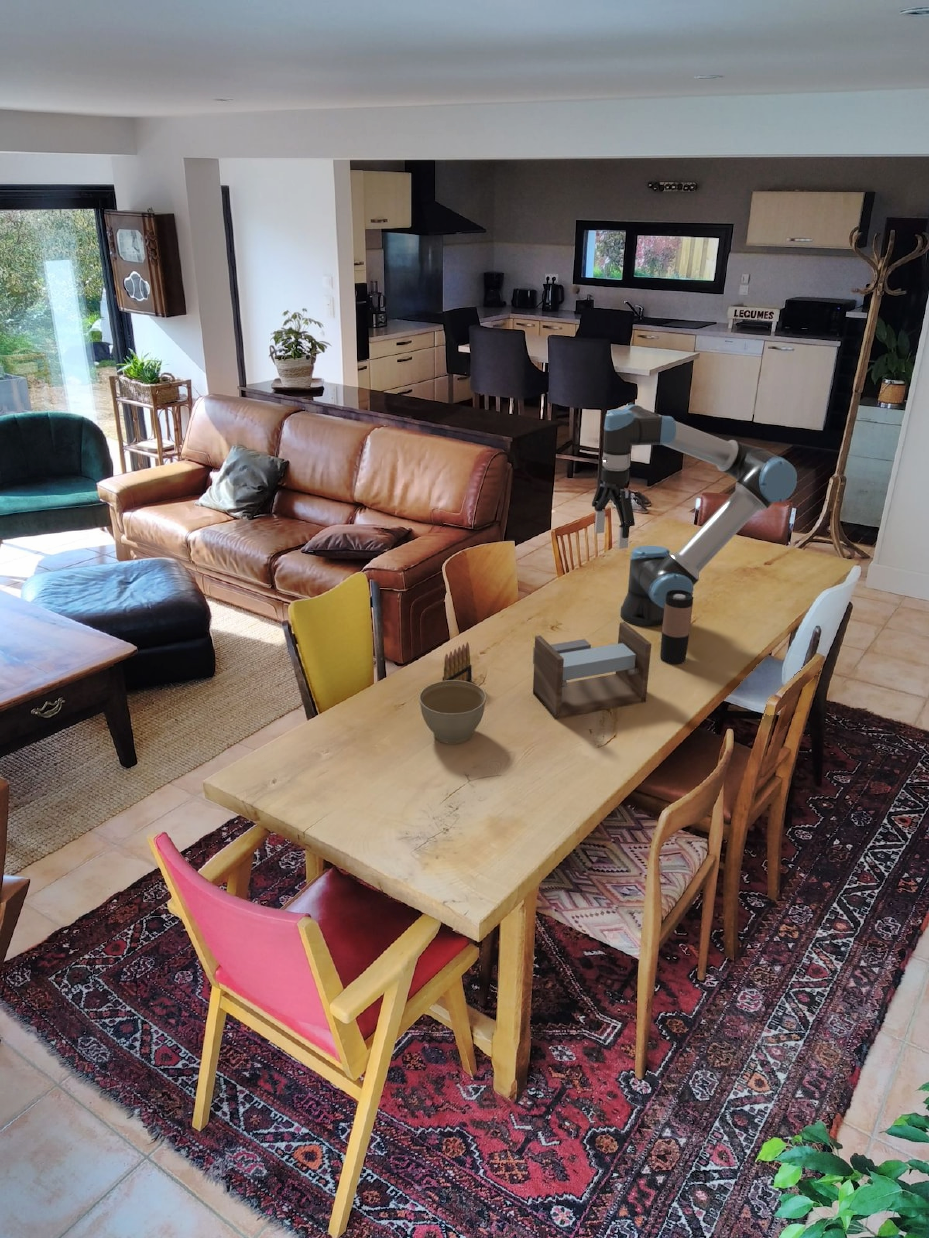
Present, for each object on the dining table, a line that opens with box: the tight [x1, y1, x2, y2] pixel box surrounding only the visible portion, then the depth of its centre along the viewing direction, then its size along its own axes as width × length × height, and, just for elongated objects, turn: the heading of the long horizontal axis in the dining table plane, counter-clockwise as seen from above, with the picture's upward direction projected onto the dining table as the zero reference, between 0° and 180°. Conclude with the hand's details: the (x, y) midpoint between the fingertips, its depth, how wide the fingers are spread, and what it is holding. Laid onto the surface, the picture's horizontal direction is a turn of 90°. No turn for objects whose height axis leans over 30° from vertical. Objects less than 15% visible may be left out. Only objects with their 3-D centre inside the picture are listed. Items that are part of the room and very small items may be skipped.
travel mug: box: [659, 590, 695, 665], centre depth 258 cm, size 8×8×20 cm
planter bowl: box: [418, 680, 487, 745], centre depth 223 cm, size 16×16×11 cm
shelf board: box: [560, 643, 636, 681], centre depth 237 cm, size 22×7×4 cm, turn 110°
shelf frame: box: [532, 621, 652, 720], centre depth 238 cm, size 26×14×17 cm, turn 110°
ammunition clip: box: [441, 641, 473, 683], centre depth 244 cm, size 11×2×12 cm, turn 142°
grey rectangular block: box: [532, 638, 592, 665], centre depth 259 cm, size 16×4×5 cm, turn 110°
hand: (610, 540), depth 260 cm, fingers open, 13 cm apart
